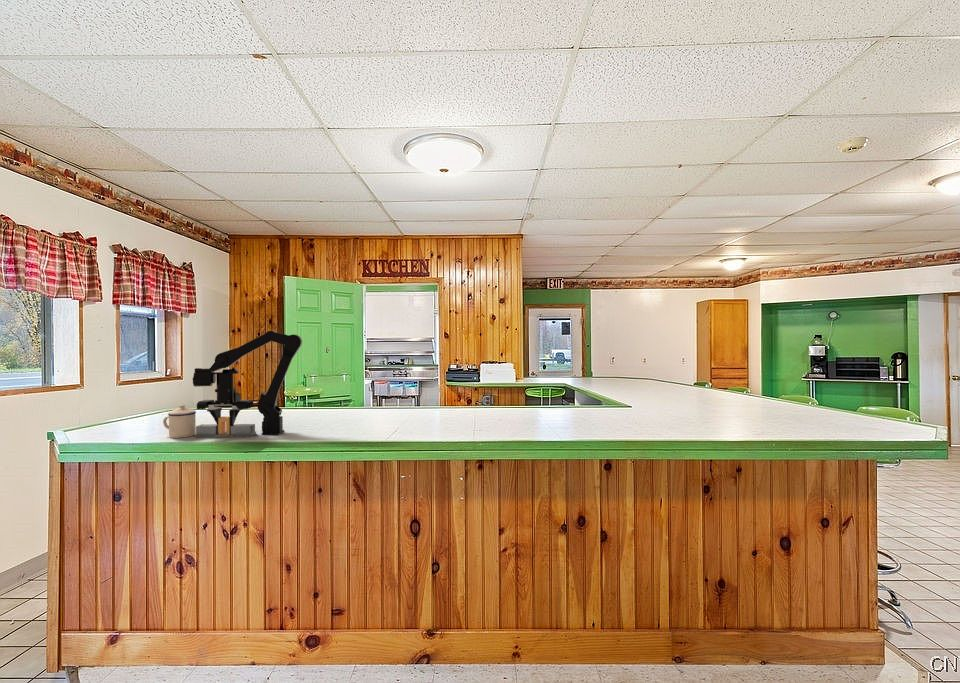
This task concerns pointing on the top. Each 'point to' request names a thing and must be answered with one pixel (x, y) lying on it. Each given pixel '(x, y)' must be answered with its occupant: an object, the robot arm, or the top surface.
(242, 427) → the rail
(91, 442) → the top surface
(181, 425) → the teacup with lid
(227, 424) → the clip
